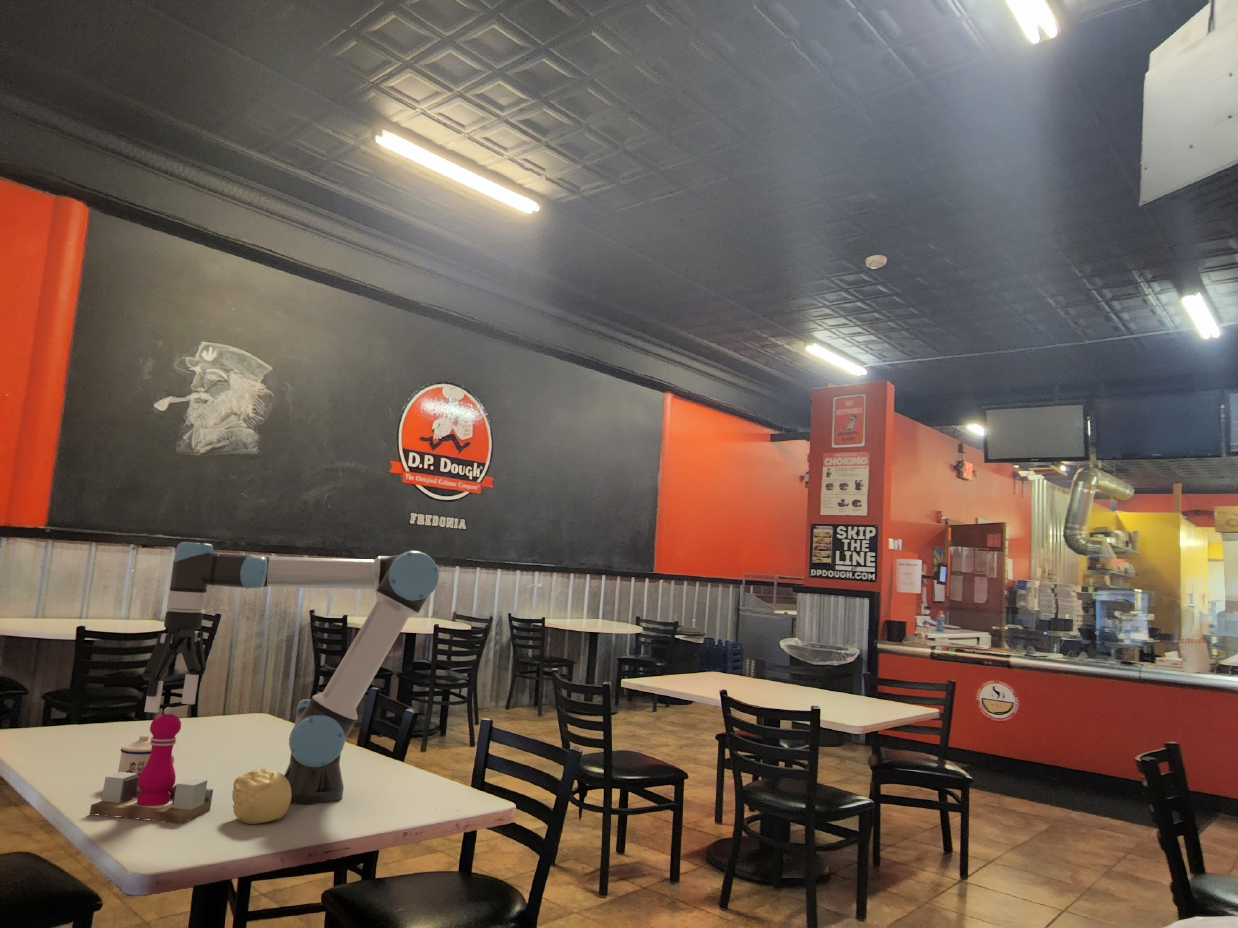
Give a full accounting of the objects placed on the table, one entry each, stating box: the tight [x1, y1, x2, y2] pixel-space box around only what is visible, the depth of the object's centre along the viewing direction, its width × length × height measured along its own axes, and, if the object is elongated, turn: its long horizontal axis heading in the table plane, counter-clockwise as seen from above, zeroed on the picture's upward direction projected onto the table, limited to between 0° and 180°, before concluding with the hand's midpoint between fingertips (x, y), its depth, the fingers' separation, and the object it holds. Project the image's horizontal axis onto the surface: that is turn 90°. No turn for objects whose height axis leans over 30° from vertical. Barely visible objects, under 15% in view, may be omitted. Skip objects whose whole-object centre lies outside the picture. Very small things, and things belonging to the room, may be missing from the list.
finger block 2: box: [172, 778, 208, 810], centre depth 174 cm, size 5×5×5 cm
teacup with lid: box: [117, 734, 175, 779], centre depth 196 cm, size 12×9×12 cm
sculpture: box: [231, 767, 292, 825], centre depth 176 cm, size 12×12×11 cm
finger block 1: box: [101, 772, 139, 803], centre depth 175 cm, size 5×5×5 cm
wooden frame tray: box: [89, 795, 212, 824], centre depth 174 cm, size 20×11×2 cm, turn 87°
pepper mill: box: [137, 706, 182, 806], centre depth 176 cm, size 7×7×20 cm
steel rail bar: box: [136, 784, 214, 802], centre depth 180 cm, size 20×1×2 cm, turn 87°
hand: (170, 707), depth 178 cm, fingers open, 13 cm apart
